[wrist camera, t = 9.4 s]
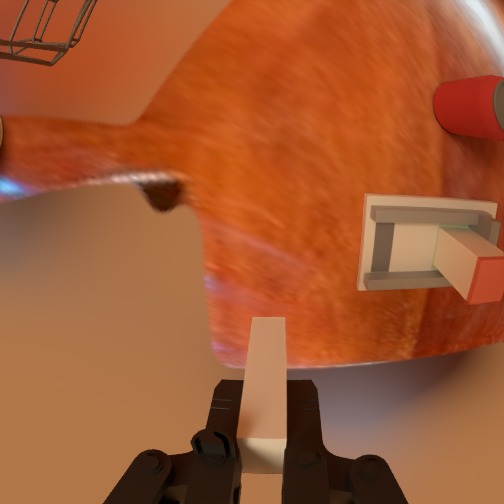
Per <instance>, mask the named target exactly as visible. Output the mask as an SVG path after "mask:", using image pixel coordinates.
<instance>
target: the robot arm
mask: <svg viewBox="0 0 504 504" xmlns="http://www.w3.org/2000/svg"><path fill="white" fill-rule="evenodd" d="M191 445H192V447H193V450H192V451H190V452H188V453H183V454H176V455H167V454H166V453H164V452H162V451H160V450H155V449H152V450H146V451H144V452H141V453H140V454H139V455H138V456H137V457H136V458H135V459H134V461H133V462H132V463H131V465H130V466H129V468H128V469H127V471H126V472H125V474H124V475H123V476H122V478H121V479H120V480H119V482H118V483H117V485H116V486H115V487H114V489H113V490H112V492H111V493H110V494H109V496H108V497H107V499H106V500H105V501H104V503H103V504H240V495H241V473H253V474H283V483H282V504H408V502H407V500H406V498H405V497H404V494H403V492H402V490H401V488H400V487H399V485H398V483H397V481H396V479H395V477H394V475H393V473H392V472H391V469H390V468H389V466H388V464H387V463H386V461H385V460H384V459H382V458H381V457H379V456H377V455H363V456H361V457H359V458H357V459H355V460H354V459H348V458H342V457H339V456H335V455H333V454H332V453H330V452H329V451H328V450H327V449H326V448H325V446H324V444H323V441H322V431H321V420H320V410H319V402H318V392H317V388H316V386H315V385H314V383H313V382H312V380H286V328H285V317H252V325H251V333H250V340H249V348H248V356H247V363H246V371H245V378H244V380H221V381H220V383H219V384H218V385H217V386H216V387H215V389H214V394H213V398H212V403H211V408H210V412H209V416H208V421H207V425H206V429H203V430H201V431H199V432H198V433H196V434H195V435H194V436H193V438H192V440H191Z"/></svg>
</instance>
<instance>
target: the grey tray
mask: <svg viewBox="0 0 504 504" xmlns="http://www.w3.org/2000/svg"><path fill="white" fill-rule="evenodd" d="M496 210H497V203H495V202H493V201H485V200H474V199H462V198H449V197H435V196H418V195H399V194H373V193H364V209H363V224H362V236H361V247H360V257H359V267H358V276H357V284H356V287H357V289H358V291H361V290H367V291H375V290H398V289H418V288H435V287H450V286H453V285H452V284H451V283H450V282H449V281H448V280H447V279H446V278H445V277H444V276H443V275H442V274H441V273H440V271H439V270H438V269H437V268H436V267H435V266H434V265H433V262H434V256H435V251H436V245H437V239H438V233H439V227H447V228H470V229H471V230H473V231H474V232H476V233H477V234H479V235H480V236H482V237H483V238H485V239H486V240H487V241H489V242H490V243H492V244H493V245H495V246H497V241H498V236H499V231H500V226H501V222H500V221H498V220H496V219H495V217H496Z"/></svg>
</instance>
